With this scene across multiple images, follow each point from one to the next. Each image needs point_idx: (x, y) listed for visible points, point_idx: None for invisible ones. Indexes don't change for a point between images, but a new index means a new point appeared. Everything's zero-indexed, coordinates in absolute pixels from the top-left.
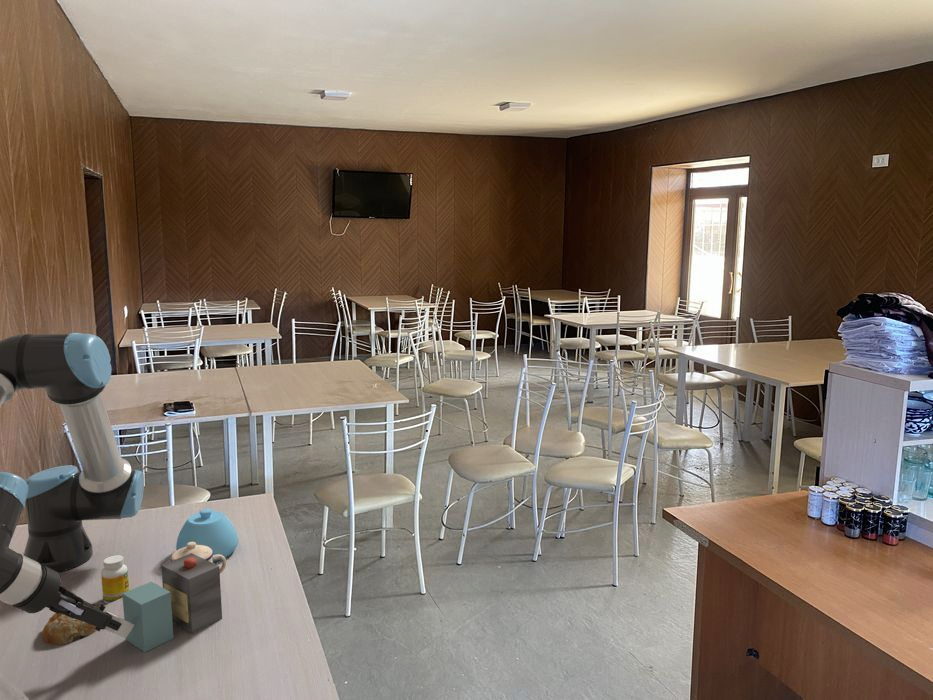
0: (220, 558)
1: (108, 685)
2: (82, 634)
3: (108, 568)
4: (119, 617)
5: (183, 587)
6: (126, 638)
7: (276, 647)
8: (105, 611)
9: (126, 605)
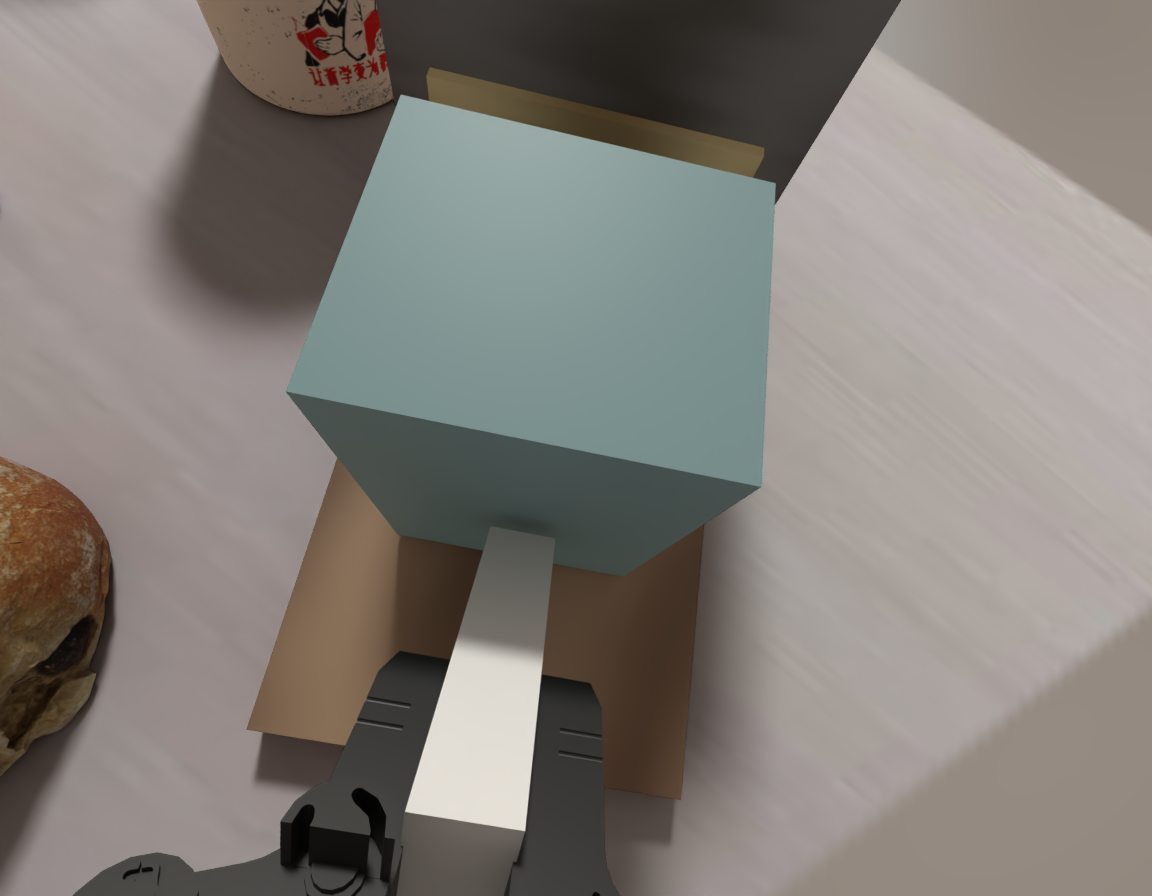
0: None
1: (648, 889)
2: (40, 656)
3: None
4: (483, 627)
5: (739, 87)
6: (402, 532)
7: (1024, 265)
8: (421, 820)
9: (399, 457)
